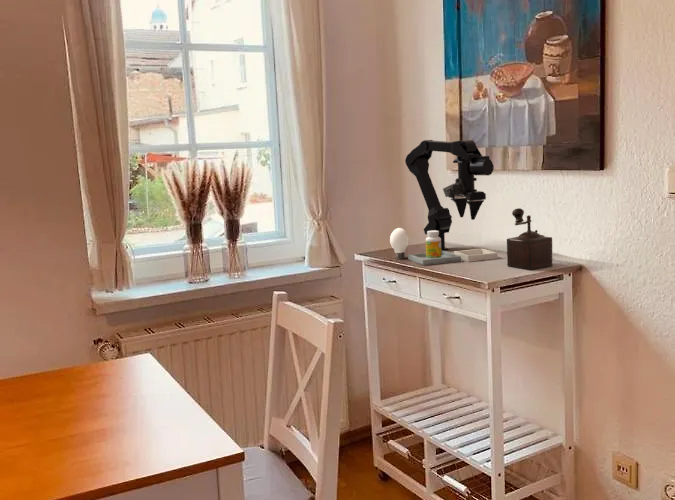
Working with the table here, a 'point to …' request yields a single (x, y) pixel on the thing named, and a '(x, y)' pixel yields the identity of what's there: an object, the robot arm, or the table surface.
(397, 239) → the light bulb
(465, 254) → the frame
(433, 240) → the supplement bottle
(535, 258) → the manual coffee grinder
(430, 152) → the robot arm
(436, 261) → the tray
